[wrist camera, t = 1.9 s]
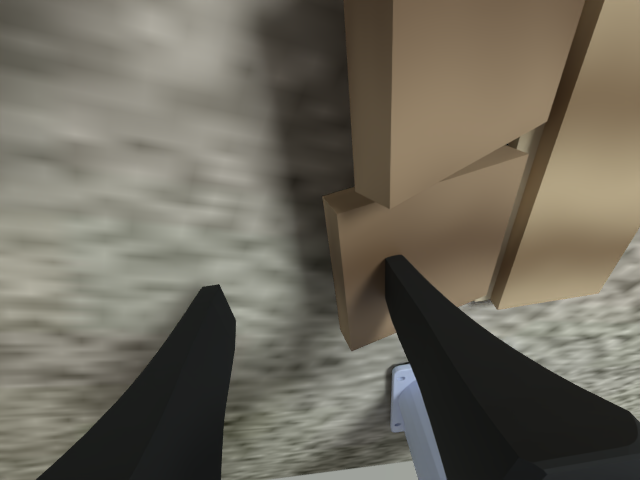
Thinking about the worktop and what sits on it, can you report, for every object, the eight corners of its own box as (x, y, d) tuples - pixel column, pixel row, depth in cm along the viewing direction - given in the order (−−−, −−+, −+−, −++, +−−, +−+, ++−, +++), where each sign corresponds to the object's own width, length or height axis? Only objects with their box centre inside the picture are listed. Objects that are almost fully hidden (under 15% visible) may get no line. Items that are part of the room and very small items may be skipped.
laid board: (580, 276, 17) (598, 293, 16) (470, 294, 17) (481, 312, 16) (954, -413, 6) (1088, -496, 5) (637, -366, 6) (709, -440, 5)
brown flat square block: (468, 278, 16) (486, 295, 15) (340, 329, 14) (351, 351, 13) (500, 143, 11) (528, 154, 10) (322, 196, 10) (336, 214, 9)
